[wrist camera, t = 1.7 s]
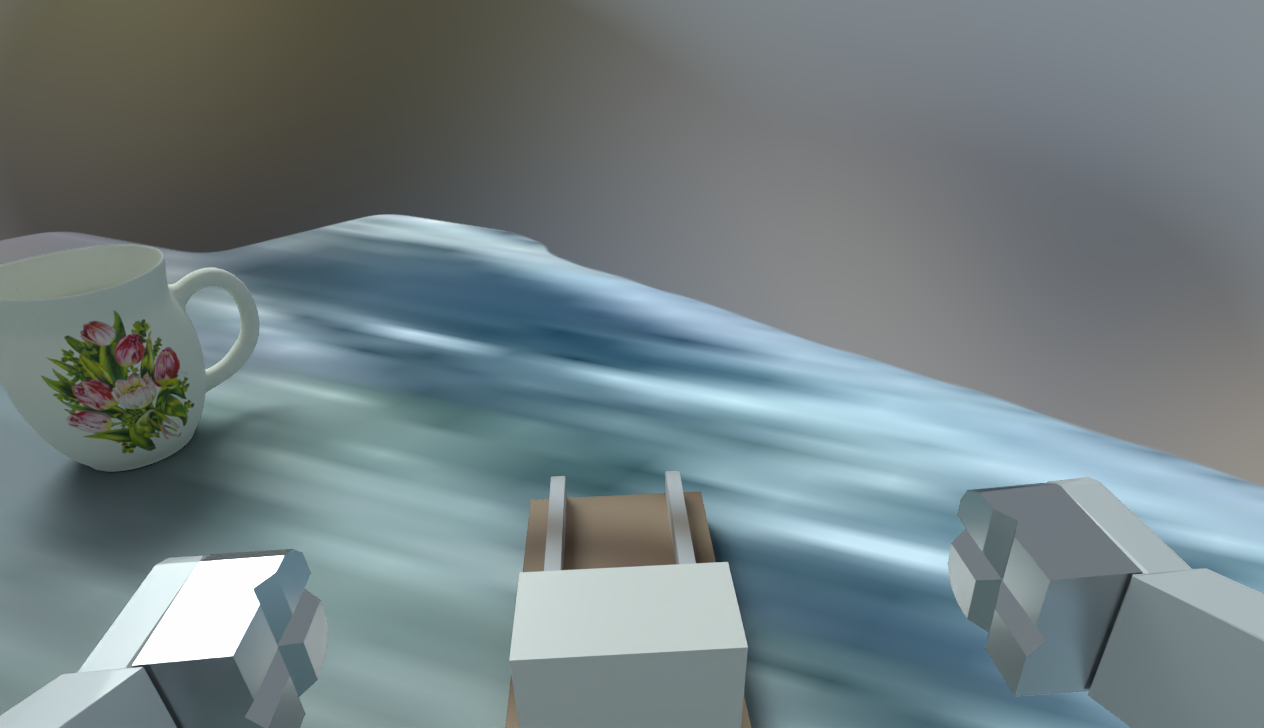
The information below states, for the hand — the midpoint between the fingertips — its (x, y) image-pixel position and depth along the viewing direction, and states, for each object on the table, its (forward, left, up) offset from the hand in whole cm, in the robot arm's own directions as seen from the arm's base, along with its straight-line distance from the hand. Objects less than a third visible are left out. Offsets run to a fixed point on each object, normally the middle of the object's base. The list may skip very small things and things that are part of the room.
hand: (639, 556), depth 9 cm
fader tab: (0, +7, -20) cm, 22 cm away
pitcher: (-33, +38, -23) cm, 55 cm away
